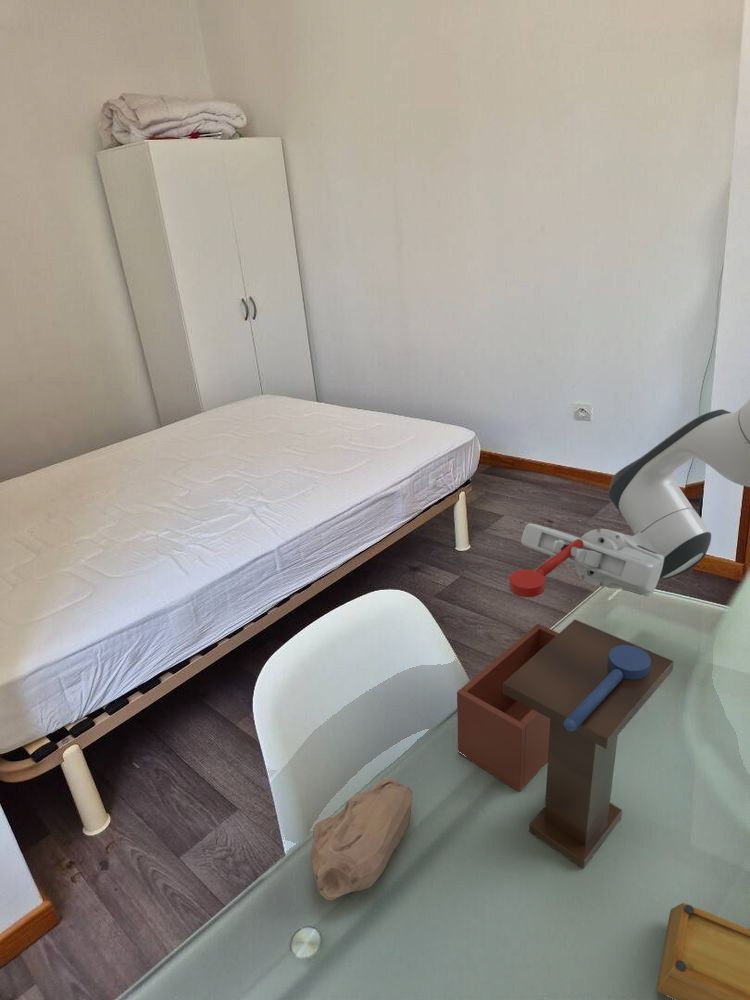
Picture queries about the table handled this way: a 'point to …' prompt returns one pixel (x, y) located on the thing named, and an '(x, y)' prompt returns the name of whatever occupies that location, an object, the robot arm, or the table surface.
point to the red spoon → (538, 574)
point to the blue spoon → (612, 680)
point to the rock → (360, 839)
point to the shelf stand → (580, 734)
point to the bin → (504, 717)
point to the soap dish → (704, 957)
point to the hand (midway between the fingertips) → (565, 550)
